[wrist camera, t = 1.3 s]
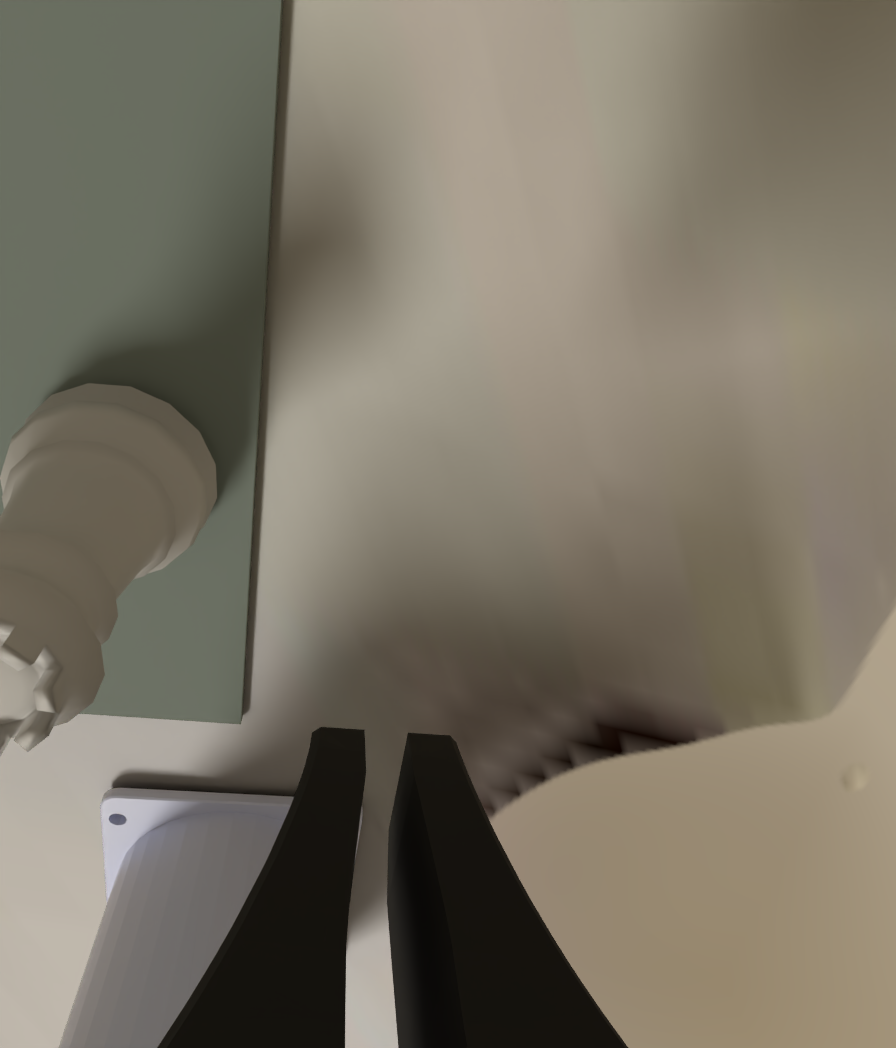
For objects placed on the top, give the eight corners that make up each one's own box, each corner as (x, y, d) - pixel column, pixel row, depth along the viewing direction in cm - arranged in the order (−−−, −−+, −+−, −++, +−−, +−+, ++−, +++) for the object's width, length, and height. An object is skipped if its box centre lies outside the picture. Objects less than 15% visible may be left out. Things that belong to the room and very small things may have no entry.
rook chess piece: (19, 524, 18) (-198, 781, 11) (29, 352, 16) (-227, 535, 9) (206, 563, 19) (110, 822, 12) (236, 405, 17) (143, 607, 10)
